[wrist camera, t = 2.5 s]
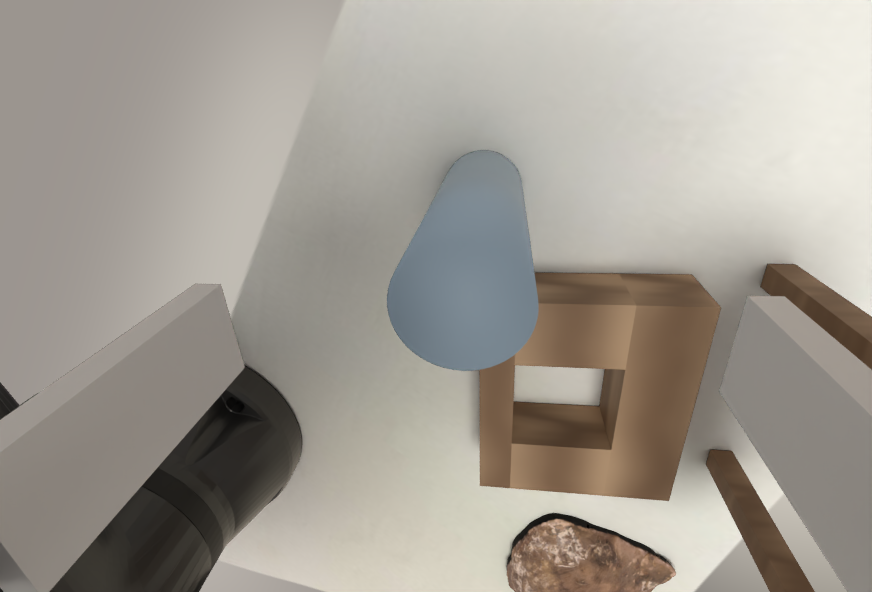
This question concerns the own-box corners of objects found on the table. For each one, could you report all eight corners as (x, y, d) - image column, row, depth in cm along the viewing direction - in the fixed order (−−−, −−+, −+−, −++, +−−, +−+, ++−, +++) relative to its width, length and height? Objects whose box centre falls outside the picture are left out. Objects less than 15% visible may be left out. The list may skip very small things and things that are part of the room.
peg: (445, 227, 27) (394, 367, 14) (442, 151, 25) (380, 236, 12) (520, 228, 26) (534, 373, 14) (523, 149, 24) (543, 236, 12)
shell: (599, 619, 43) (606, 663, 40) (481, 567, 42) (479, 609, 38) (682, 559, 37) (699, 604, 34) (550, 497, 36) (554, 539, 33)
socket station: (482, 451, 34) (464, 749, 19) (482, 256, 27) (454, 491, 12) (730, 469, 32) (930, 826, 17) (802, 259, 25) (1261, 558, 10)
